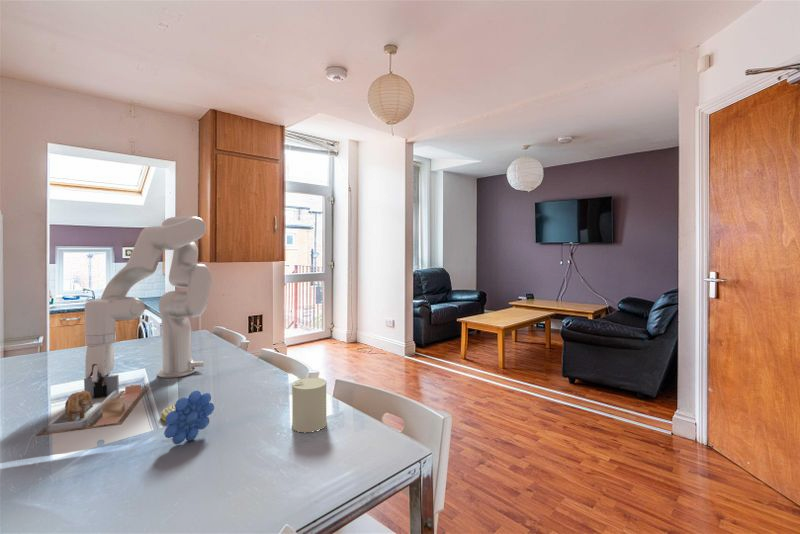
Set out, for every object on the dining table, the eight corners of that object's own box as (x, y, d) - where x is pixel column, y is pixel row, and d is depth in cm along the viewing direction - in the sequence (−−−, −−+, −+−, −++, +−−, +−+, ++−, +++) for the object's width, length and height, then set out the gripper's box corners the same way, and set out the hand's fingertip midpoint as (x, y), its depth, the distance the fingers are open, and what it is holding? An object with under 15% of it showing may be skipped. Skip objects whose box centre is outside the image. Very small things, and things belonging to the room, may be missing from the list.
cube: (124, 410, 108) (124, 396, 107) (120, 416, 104) (120, 402, 104) (107, 412, 106) (107, 398, 106) (102, 418, 102) (102, 404, 102)
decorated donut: (211, 418, 106) (211, 405, 106) (168, 431, 98) (168, 417, 98) (198, 407, 113) (198, 395, 113) (156, 419, 105) (156, 405, 105)
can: (289, 421, 104) (289, 378, 103) (323, 415, 107) (323, 374, 107) (294, 436, 95) (294, 389, 95) (330, 429, 99) (330, 384, 98)
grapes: (206, 426, 100) (205, 382, 100) (219, 434, 96) (218, 387, 96) (157, 444, 91) (156, 395, 90) (169, 453, 87) (168, 402, 86)
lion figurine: (90, 426, 100) (89, 392, 100) (63, 431, 97) (62, 397, 97) (94, 407, 112) (93, 377, 112) (71, 411, 109) (70, 381, 109)
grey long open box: (118, 396, 121) (118, 374, 121) (86, 430, 98) (86, 404, 97) (86, 399, 118) (86, 377, 118) (45, 436, 94) (44, 408, 94)
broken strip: (142, 392, 124) (142, 383, 124) (117, 425, 100) (117, 414, 100) (125, 394, 122) (125, 385, 122) (95, 428, 99) (95, 417, 98)
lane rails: (148, 391, 125) (148, 388, 125) (121, 427, 99) (121, 423, 99) (82, 399, 119) (82, 395, 119) (36, 439, 93) (35, 434, 93)
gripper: (95, 334, 124) (97, 389, 125) (74, 345, 110) (76, 408, 110) (123, 333, 127) (124, 387, 128) (106, 343, 112) (107, 404, 113)
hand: (102, 396), depth 119 cm, fingers closed
